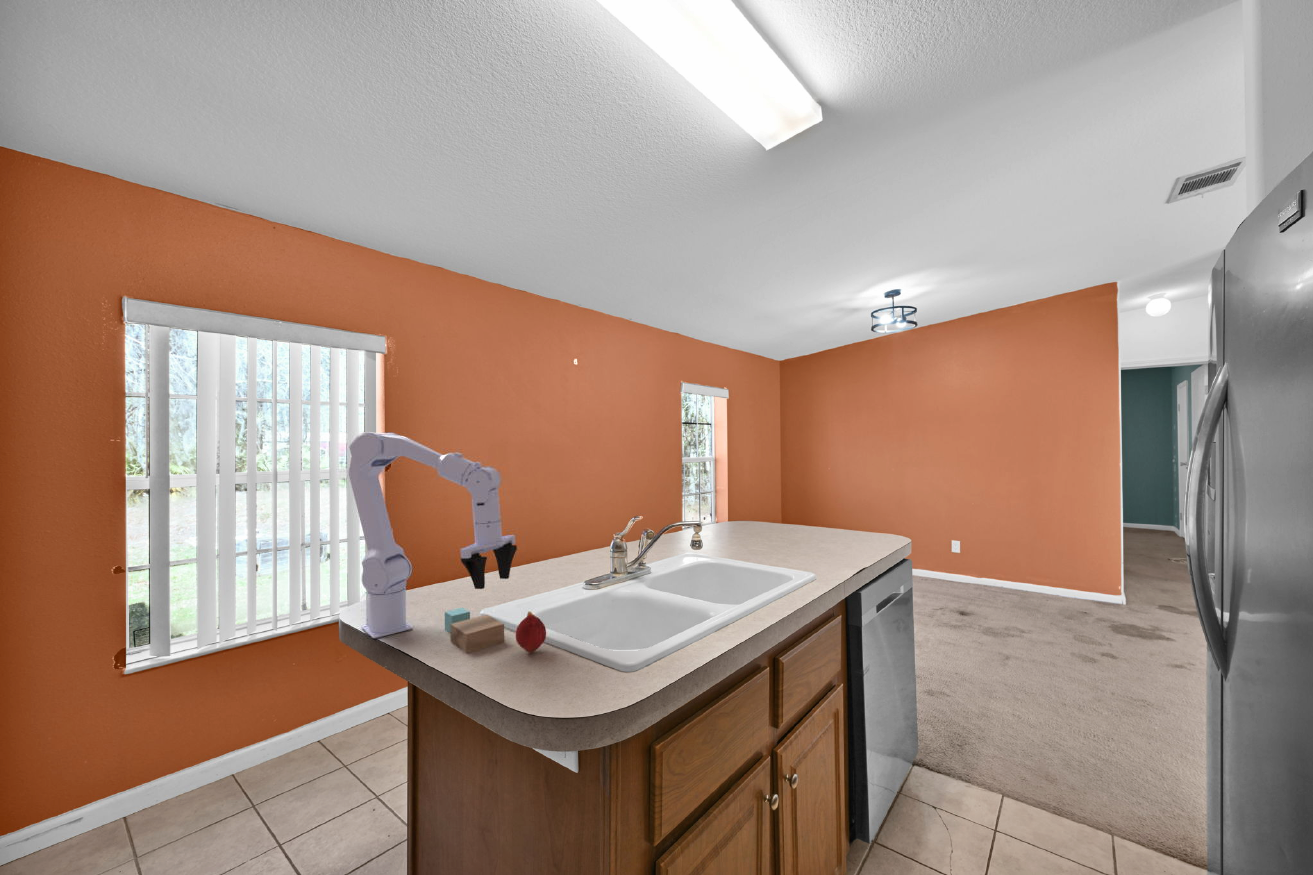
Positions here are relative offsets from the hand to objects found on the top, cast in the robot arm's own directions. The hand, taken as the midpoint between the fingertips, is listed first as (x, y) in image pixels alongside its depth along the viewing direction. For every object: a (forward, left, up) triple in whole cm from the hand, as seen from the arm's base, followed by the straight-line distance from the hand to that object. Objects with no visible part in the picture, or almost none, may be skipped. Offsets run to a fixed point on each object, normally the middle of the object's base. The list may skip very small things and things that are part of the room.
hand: (492, 583), depth 110 cm
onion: (+16, 0, -11) cm, 19 cm away
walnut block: (+3, -5, -11) cm, 12 cm away
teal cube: (-7, -5, -11) cm, 13 cm away
